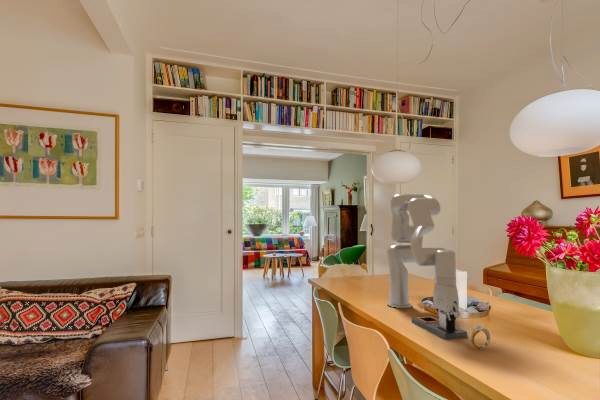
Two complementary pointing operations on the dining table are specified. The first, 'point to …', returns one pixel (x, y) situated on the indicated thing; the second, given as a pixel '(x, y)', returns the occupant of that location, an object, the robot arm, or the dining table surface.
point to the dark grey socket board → (433, 327)
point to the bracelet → (476, 333)
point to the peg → (443, 321)
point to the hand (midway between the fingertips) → (447, 327)
